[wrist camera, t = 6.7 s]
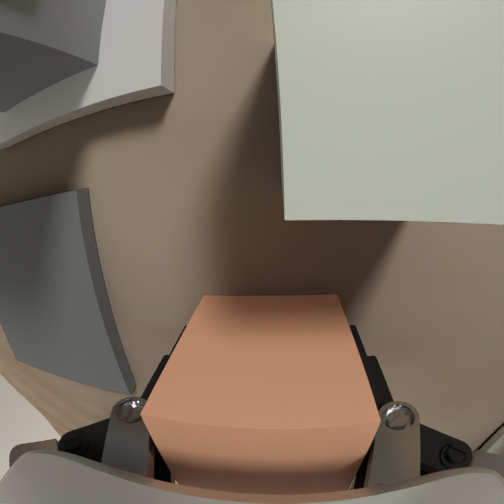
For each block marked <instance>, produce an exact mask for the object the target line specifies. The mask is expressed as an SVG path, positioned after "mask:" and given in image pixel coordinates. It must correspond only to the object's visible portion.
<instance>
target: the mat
mask: <svg viewBox="0 0 504 504" xmlns="http://www.w3.org/2000/svg"><path fill="white" fill-rule="evenodd" d="M0 323H1V325H2V328H3V330H4V333H5V335H6V337H7V340H8V342H9V344H10V346H11V348H12V351H13V353H14V355H15V357H16V359H17V360H18V361H21V362H23V363H26V364H28V365H31V366H33V367H36V368H38V369H41V370H44V371H47V372H49V373H52V374H55V375H58V376H61V377H64V378H67V379H70V380H74V381H77V382H80V383H84V384H87V385H91V386H94V387H98V388H102V389H106V390H110V391H114V392H118V393H123V394H127V395H131V394H132V392H133V390H134V389H135V387H136V383H135V381H134V378H133V375H132V373H131V370H130V367H129V365H128V362H127V359H126V356H125V353H124V350H123V347H122V344H121V341H120V338H119V335H118V331H117V328H116V325H115V321H114V318H113V314H112V311H111V307H110V304H109V300H108V296H107V292H106V288H105V284H104V279H103V275H102V270H101V266H100V261H99V256H98V251H97V246H96V240H95V234H94V228H93V222H92V215H91V207H90V199H89V191H88V188H84V189H79V190H73V191H68V192H63V193H58V194H53V195H48V196H44V197H39V198H35V199H31V200H26V201H22V202H18V203H14V204H10V205H6V206H2V207H0Z"/></svg>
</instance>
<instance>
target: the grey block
mask: <svg viewBox="0 0 504 504" xmlns="http://www.w3.org/2000/svg"><path fill="white" fill-rule="evenodd" d="M271 7H272V20H273V34H274V49H275V62H276V77H277V93H278V111H279V131H280V153H281V181H282V194H283V206H284V218H285V220H394V221H434V222H461V223H482V224H500V225H504V0H271Z"/></svg>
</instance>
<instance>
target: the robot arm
mask: <svg viewBox="0 0 504 504" xmlns="http://www.w3.org/2000/svg"><path fill="white" fill-rule="evenodd" d="M186 327H187V326H185V327H184V329H183V331H182V333H181V334H180V336H179V338H178V340H177V342H176V344H175V345H174V347H173V349H172V351H171V353H170V355H165V356H164V357H163V358H162V360H161V362H160V364H159V366H158V367H157V369H156V371H155V373H154V375H153V376H152V378H151V380H150V382H149V384H148V385H147V387H146V389H145V391H144V393H143V395H142V396H141V398H140V397H127V398H124V399H122V400H120V401H119V402H117V403H116V404H115V405H114V407H113V409H112V412H111V416H110V418H108V419H105V420H103V421H100V422H97V423H94V424H91V425H88V426H85V427H82V428H79V429H76V430H73V431H70V432H68V433H66V434H65V435H63V436H62V437H61V439H60V440H59V441H57V440H56V439H52V440H45V441H39V442H33V443H25V444H20V445H17V446H15V447H14V448H12V450H11V452H10V456H9V457H10V458H9V459H10V460H9V463H10V468H9V470H8V471H7V472H6V474H5V475H4V476H3V478H2V479H1V481H0V504H504V425H503V426H502V427H501V428H500V429H499V430H498V431H497V432H496V433H495V434H494V435H493V436H492V437H491V438H490V439H489V440H488V441H487V442H486V443H485V444H484V445H483V446H482V448H481V449H480V450H477V451H476V452H472V451H471V448H470V447H469V446H468V445H467V444H466V443H465V442H463V441H461V440H458V439H456V438H453V437H451V436H448V435H446V434H443V433H441V432H439V431H436V430H434V429H431V428H429V427H427V426H425V425H422V424H420V420H419V414H418V412H417V410H416V409H415V408H414V407H413V406H412V405H410V404H408V403H406V402H401V401H393V399H392V396H391V393H390V391H389V388H388V385H387V383H386V380H385V378H384V375H383V373H382V370H381V368H380V365H379V363H378V360H377V358H376V357H375V356H367V354H366V352H365V349H364V347H363V344H362V341H361V339H360V336H359V334H358V331H357V329H356V326H355V325H349V327H350V330H351V332H352V335H353V338H354V341H355V343H356V346H357V349H358V352H359V355H360V357H361V360H362V363H363V366H364V369H365V372H366V375H367V378H368V381H369V384H370V387H371V390H372V394H373V397H374V400H375V403H376V406H377V410H378V413H379V416H380V419H381V422H380V425H379V427H378V429H377V432H376V434H375V436H374V438H373V441H372V443H371V445H370V447H369V449H368V451H367V453H366V455H365V457H364V459H363V461H362V463H361V465H360V467H359V469H358V471H357V473H356V475H355V477H354V479H353V482H352V486H351V490H347V491H339V492H329V493H317V494H296V495H266V494H246V493H233V492H223V491H215V490H208V489H201V488H195V487H189V486H183V485H178V484H175V478H174V476H173V474H172V473H171V471H170V469H169V468H168V466H167V464H166V463H165V461H164V459H163V457H162V456H161V454H160V452H159V450H158V448H157V447H156V445H155V443H154V441H153V439H152V437H151V435H150V433H149V431H148V429H147V427H146V425H145V423H144V421H143V419H142V417H141V415H140V414H141V412H142V410H143V408H144V406H145V404H146V402H147V400H148V398H149V396H150V394H151V392H152V390H153V388H154V387H155V385H156V383H157V381H158V379H159V377H160V375H161V373H162V371H163V370H164V368H165V366H166V364H167V362H168V360H169V358H170V356H171V354H172V353H173V351H174V349H175V347H176V345H177V343H178V341H179V340H180V338H181V336H182V334H183V332H184V330H185V329H186Z"/></svg>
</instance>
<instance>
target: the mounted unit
mask: <svg viewBox="0 0 504 504" xmlns="http://www.w3.org/2000/svg"><path fill="white" fill-rule="evenodd" d="M175 13H176V0H0V149H6V148H8V147H10V146H12V145H14V144H16V143H18V142H20V141H23V140H25V139H27V138H29V137H31V136H34V135H36V134H38V133H41V132H43V131H45V130H48V129H50V128H53V127H55V126H58V125H60V124H63V123H66V122H68V121H71V120H74V119H77V118H80V117H83V116H86V115H89V114H92V113H95V112H98V111H101V110H105V109H108V108H112V107H115V106H119V105H123V104H126V103H130V102H134V101H139V100H143V99H147V98H152V97H156V96H161V95H166V94H172V93H174V39H175Z"/></svg>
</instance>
